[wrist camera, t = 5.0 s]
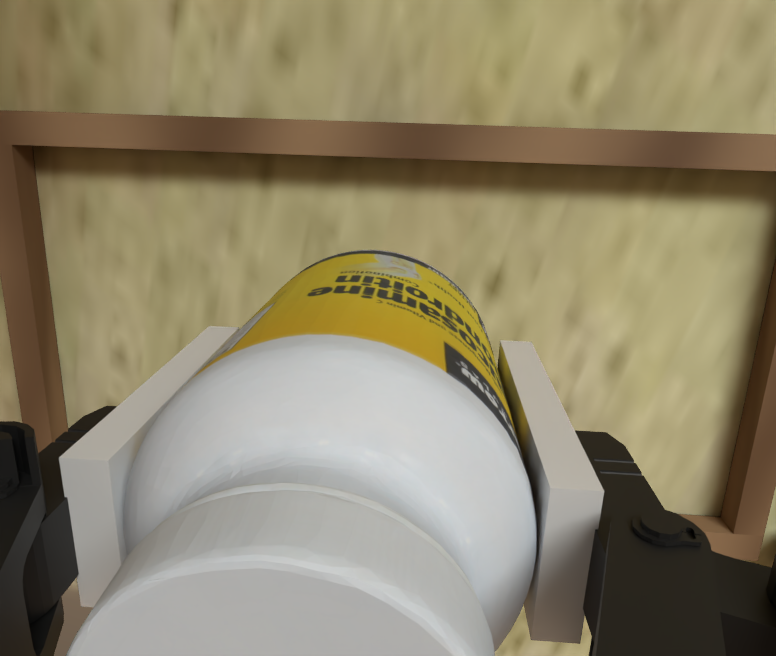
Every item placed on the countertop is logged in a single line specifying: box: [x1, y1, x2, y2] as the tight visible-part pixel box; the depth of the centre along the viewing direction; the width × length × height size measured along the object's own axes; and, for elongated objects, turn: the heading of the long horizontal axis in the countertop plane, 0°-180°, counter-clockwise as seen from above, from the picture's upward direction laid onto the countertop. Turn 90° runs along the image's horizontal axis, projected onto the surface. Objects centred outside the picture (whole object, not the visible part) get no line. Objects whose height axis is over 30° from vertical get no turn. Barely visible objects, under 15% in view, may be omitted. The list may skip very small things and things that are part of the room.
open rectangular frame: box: [0, 110, 776, 561], centre depth 20 cm, size 26×14×1 cm, turn 88°
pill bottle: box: [66, 250, 537, 656], centre depth 12 cm, size 6×6×12 cm
